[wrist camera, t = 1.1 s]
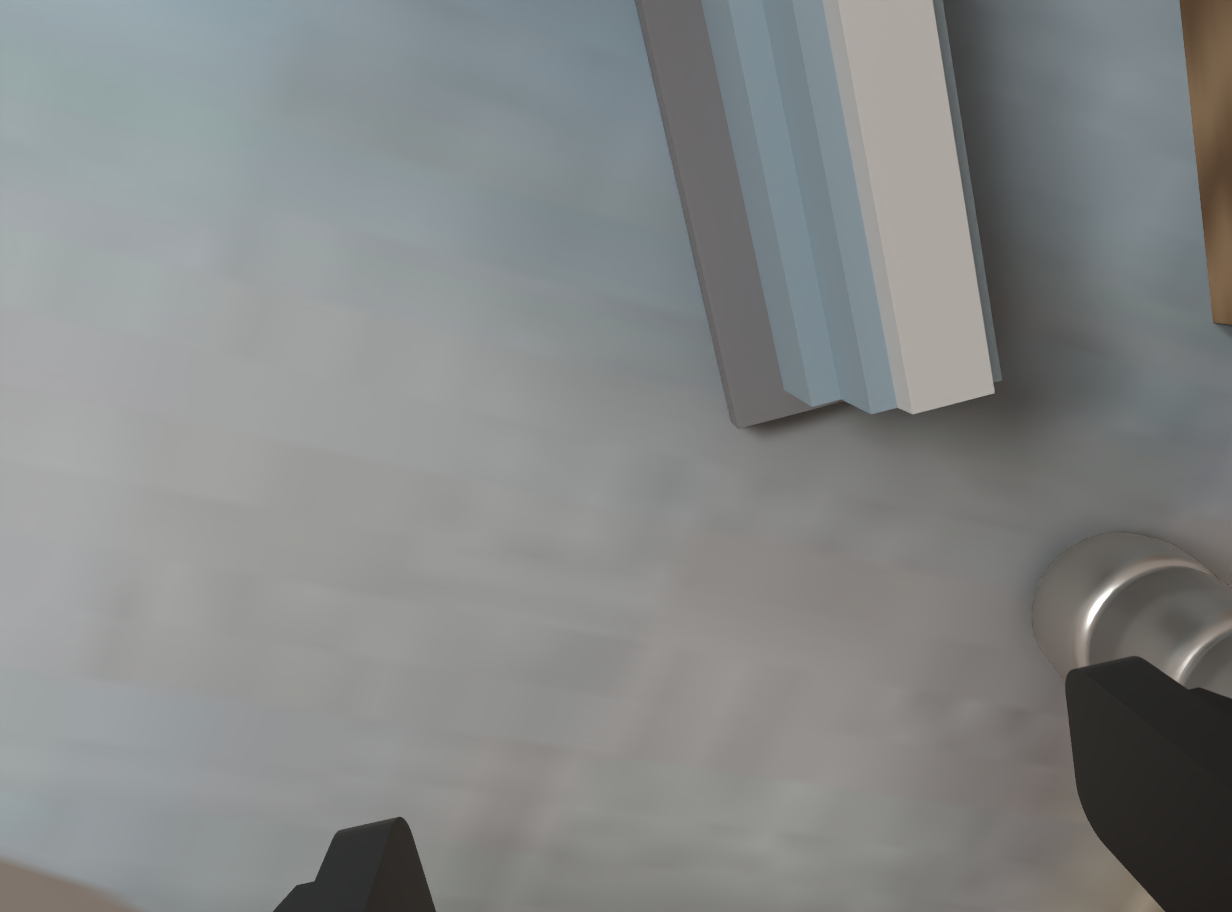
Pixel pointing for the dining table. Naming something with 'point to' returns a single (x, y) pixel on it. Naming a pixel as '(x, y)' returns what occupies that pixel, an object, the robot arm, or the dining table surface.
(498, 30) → the dining table surface
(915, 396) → the fulcrum ridge
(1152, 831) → the robot arm
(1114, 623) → the plastic bottle
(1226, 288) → the walnut plank
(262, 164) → the dining table surface
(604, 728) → the dining table surface
